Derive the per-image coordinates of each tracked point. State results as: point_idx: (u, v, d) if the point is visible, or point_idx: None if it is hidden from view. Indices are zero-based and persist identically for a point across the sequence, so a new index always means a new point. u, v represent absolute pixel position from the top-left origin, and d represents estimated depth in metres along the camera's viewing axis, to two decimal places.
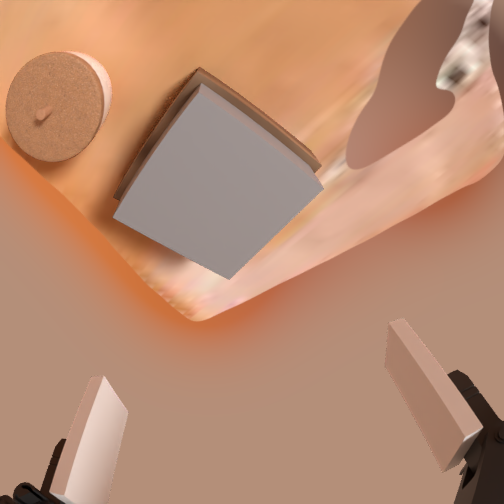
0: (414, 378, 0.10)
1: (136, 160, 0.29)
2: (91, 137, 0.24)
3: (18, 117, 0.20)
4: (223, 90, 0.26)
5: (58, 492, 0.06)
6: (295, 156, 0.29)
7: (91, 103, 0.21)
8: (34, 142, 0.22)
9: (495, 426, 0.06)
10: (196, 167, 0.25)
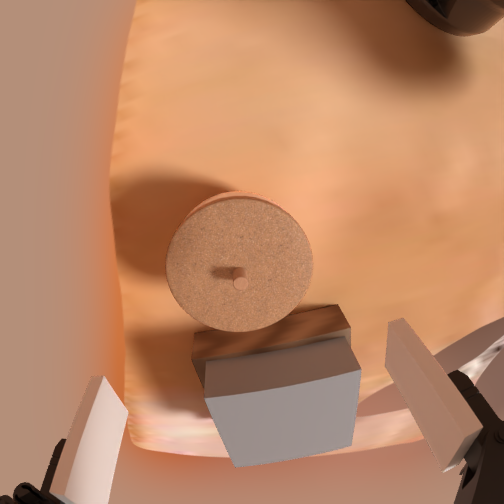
0: (414, 378, 0.10)
1: (243, 352, 0.29)
2: (249, 330, 0.24)
3: (200, 243, 0.21)
4: None
5: (58, 492, 0.06)
6: None
7: (282, 309, 0.24)
8: (190, 283, 0.22)
9: (495, 426, 0.06)
10: (304, 408, 0.26)
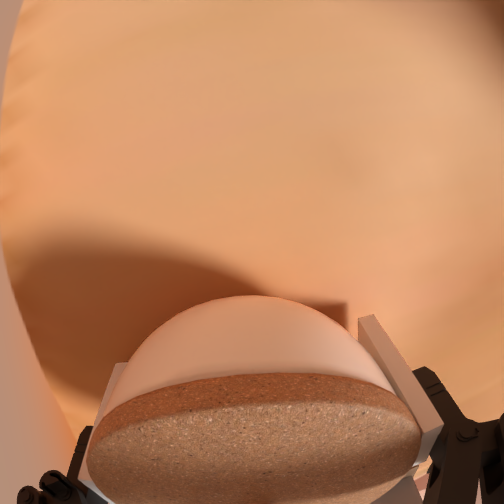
0: None
1: None
2: None
3: (158, 477, 0.06)
4: None
5: (87, 478, 0.07)
6: None
7: None
8: None
9: (456, 425, 0.07)
10: None
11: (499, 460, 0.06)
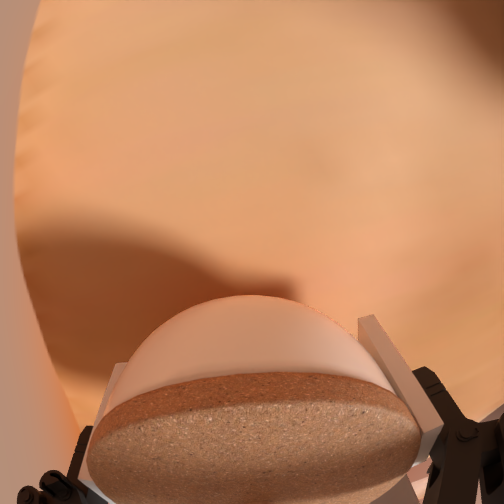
0: None
1: None
2: None
3: (158, 476, 0.06)
4: None
5: (87, 478, 0.07)
6: None
7: None
8: None
9: (456, 425, 0.07)
10: None
11: (499, 460, 0.06)
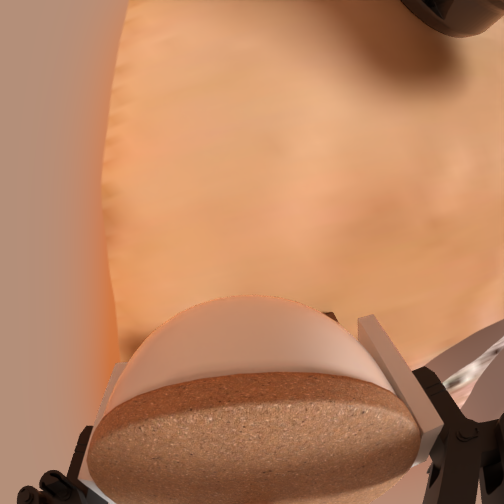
0: None
1: None
2: None
3: (158, 476, 0.06)
4: None
5: (87, 478, 0.07)
6: None
7: None
8: None
9: (456, 425, 0.07)
10: None
11: (499, 460, 0.06)
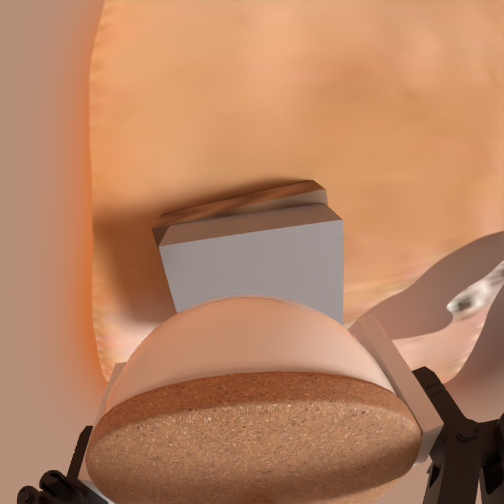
0: None
1: (207, 216, 0.27)
2: None
3: (157, 476, 0.06)
4: None
5: (87, 478, 0.07)
6: None
7: None
8: None
9: (456, 425, 0.07)
10: (278, 274, 0.24)
11: (499, 460, 0.06)
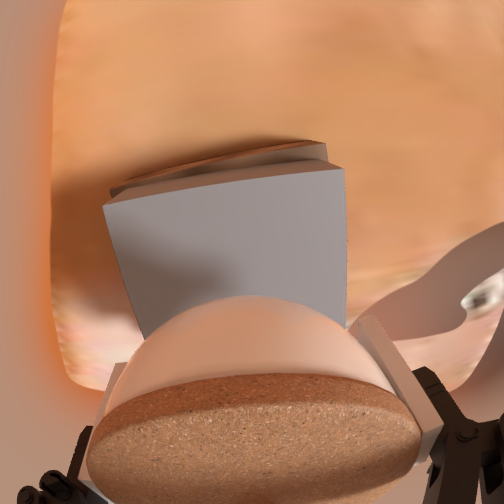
0: None
1: (176, 173, 0.21)
2: None
3: (158, 477, 0.06)
4: None
5: (87, 478, 0.07)
6: None
7: None
8: None
9: (456, 425, 0.07)
10: (258, 243, 0.18)
11: (499, 460, 0.06)
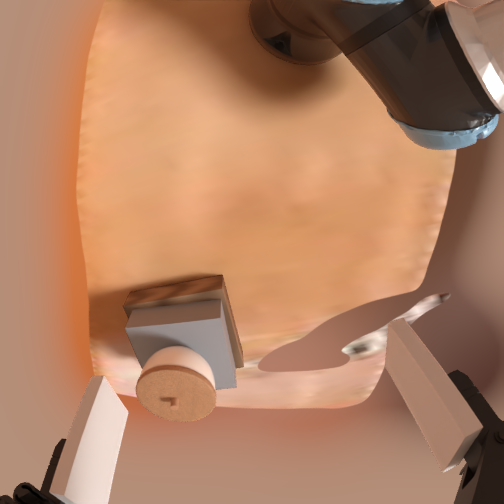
0: (414, 378, 0.10)
1: (153, 301, 0.45)
2: None
3: (151, 387, 0.36)
4: (226, 306, 0.46)
5: (58, 492, 0.06)
6: (233, 361, 0.49)
7: (203, 413, 0.38)
8: (151, 402, 0.37)
9: (495, 426, 0.06)
10: (188, 343, 0.43)
11: None
